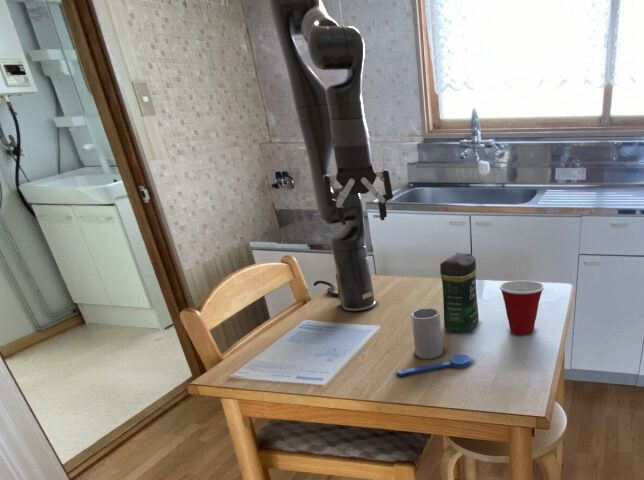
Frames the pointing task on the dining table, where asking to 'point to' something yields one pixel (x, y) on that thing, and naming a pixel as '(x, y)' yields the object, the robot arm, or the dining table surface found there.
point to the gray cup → (427, 333)
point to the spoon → (439, 365)
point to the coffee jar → (459, 293)
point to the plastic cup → (521, 304)
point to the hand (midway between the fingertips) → (363, 222)
